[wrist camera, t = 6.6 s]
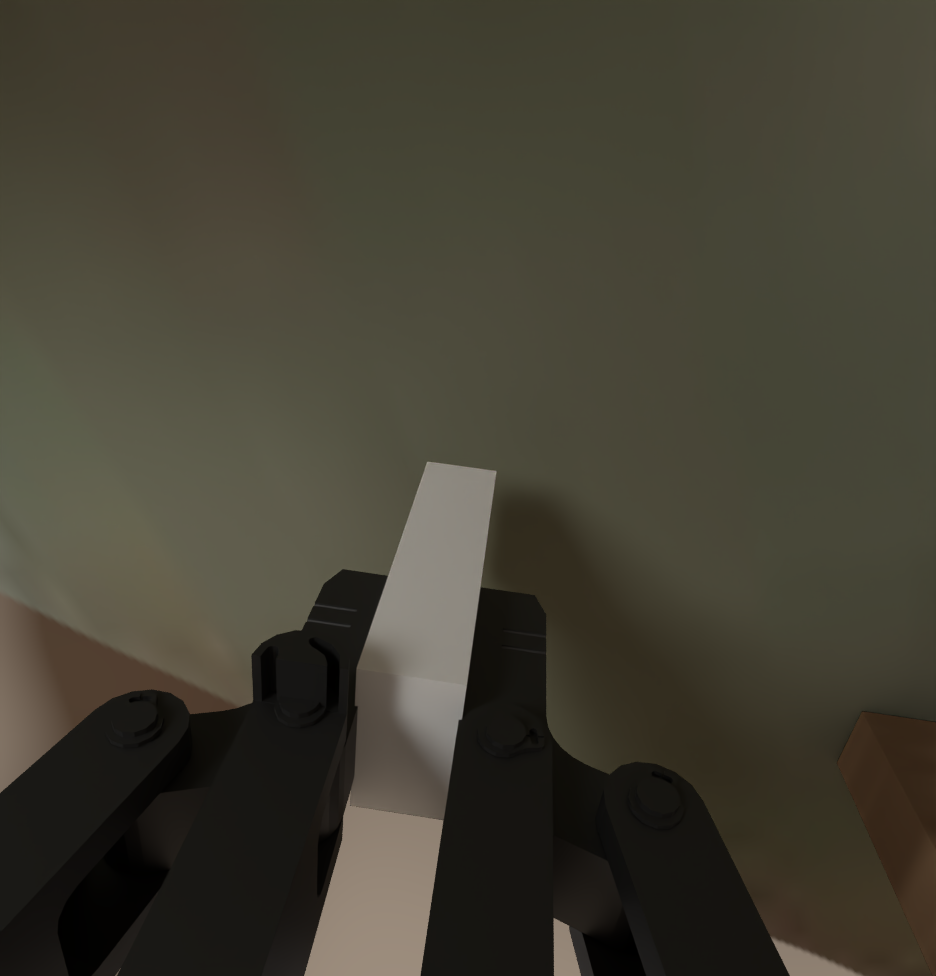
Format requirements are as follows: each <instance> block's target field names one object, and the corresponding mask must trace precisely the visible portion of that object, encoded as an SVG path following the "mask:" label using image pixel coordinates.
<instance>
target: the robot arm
mask: <svg viewBox="0 0 936 976" xmlns="http://www.w3.org/2000/svg"><path fill="white" fill-rule="evenodd" d="M495 478H496V471H492V470H485V469H478V468H471V467H464V466H457V465H449V464H442V463H435V462H428V461H427V464H426V467H425V470H424V473H423V476H422V479H421V482H420V484H419V487H418V490H417V493H416V496H415V499H414V502H413V505H412V508H411V511H410V514H409V517H408V520H407V522H406V525H405V528H404V531H403V534H402V537H401V540H400V543H399V546H398V549H397V552H396V555H395V558H394V560H393V563H392V566H391V569H390V572H389V575H388V576H385V575H379V574H372V573H365V572H358V571H351V570H344V569H343V570H341V571H340V572H339V573H337V574H336V575H335V576H334V577H332V578H331V579H330V580H328V581H327V582H326V583H325V584H324V585H323V587H322V589H321V591H320V593H319V595H318V598H317V600H316V602H315V606H313V608H312V610H311V612H310V614H309V617H308V620H307V622H306V623H305V625H304V627H303V629H302V631H297V630H295V631H291V632H287V633H282V634H278V635H276V636H274V637H272V638H270V639H268V640H267V641H265V642H263V643H261V645H260V646H259V647H258V648H257V649H256V650H255V651H254V653H253V654H252V678H253V702H252V703H250V704H248V705H245V706H242V707H239V708H236V709H231V710H225V711H219V712H209V713H199V714H190V713H189V712H188V710H187V707H186V706H185V704H184V702H183V701H182V700H181V699H179V698H177V697H176V696H174V695H173V694H171V693H168V692H162V691H157V690H145V691H134V692H130V693H127V694H124V695H121V696H118V697H115V698H112V699H111V700H109V701H108V702H106V703H105V704H103V705H102V706H100V707H99V708H97V709H95V710H94V711H93V712H92V713H91V714H90V715H89V716H87V717H86V718H85V719H84V720H83V721H82V722H81V723H79V724H78V725H77V726H76V727H75V728H74V729H73V730H71V731H70V732H69V733H68V734H67V735H66V736H65V737H63V738H62V739H61V740H60V741H59V742H58V743H57V744H56V745H55V746H53V747H52V748H51V749H50V750H49V751H48V752H46V753H45V754H44V755H43V756H42V757H41V758H40V759H39V760H37V761H36V762H35V763H34V764H33V765H32V766H31V767H29V768H28V769H27V770H26V771H25V772H24V773H23V774H21V775H20V776H19V777H18V778H17V779H16V780H15V781H14V782H12V783H11V784H10V785H9V786H8V787H7V788H5V789H4V790H3V791H2V792H1V793H0V976H115V975H116V973H117V972H118V971H119V969H120V968H121V969H120V971H119V973H118V975H117V976H304V974H305V971H306V967H307V963H308V960H309V956H310V953H311V949H312V945H313V942H314V938H315V934H316V931H317V928H318V924H319V920H320V916H321V913H322V910H323V906H324V902H325V898H326V895H327V892H328V888H329V884H330V881H331V877H332V873H333V870H334V866H335V863H336V859H337V855H338V852H339V848H340V845H341V841H342V830H343V815H344V811H345V808H346V804H347V801H348V797H349V794H350V790H351V798H350V806H356V807H363V808H369V809H375V810H382V811H388V812H394V813H401V814H407V815H413V816H420V817H427V818H433V819H439V820H444V821H443V829H442V835H441V841H440V848H439V855H438V862H437V868H436V875H435V882H434V889H433V895H432V902H431V910H430V916H429V922H428V929H427V936H426V943H425V950H424V956H423V963H422V970H421V976H554V942H553V941H554V938H553V937H554V936H553V935H554V933H553V918H555V919H557V920H560V921H561V922H563V923H565V924H567V925H569V929H570V934H571V938H572V942H573V946H574V949H575V953H576V957H577V961H578V965H579V969H580V973H581V976H790V975H789V973H788V971H787V969H786V967H785V965H784V963H783V961H782V959H781V957H780V956H779V953H778V951H777V949H776V947H775V945H774V943H773V941H772V939H771V937H770V935H769V933H768V931H767V929H766V927H765V925H764V923H763V921H762V919H761V917H760V915H759V913H758V911H757V909H756V907H755V905H754V903H753V901H752V899H751V897H750V895H749V893H748V891H747V889H746V887H745V885H744V883H743V880H742V878H741V876H740V874H739V872H738V870H737V868H736V866H735V864H734V862H733V860H732V858H731V856H730V854H729V852H728V850H727V848H726V846H725V844H724V842H723V840H722V838H721V836H720V834H719V832H718V830H717V828H716V826H715V824H714V822H713V820H712V818H711V816H710V814H709V812H708V810H707V808H706V806H705V804H704V802H703V800H702V799H701V797H700V796H699V795H698V793H697V792H696V790H695V789H694V788H693V786H692V785H691V784H690V783H688V782H687V781H686V780H684V779H683V778H682V777H681V776H679V775H678V774H677V773H676V772H673V771H671V770H669V769H666V768H664V767H662V766H659V765H657V764H650V763H642V762H635V763H630V764H626V765H622V766H620V767H619V768H617V769H616V770H615V771H613V772H612V773H611V774H610V775H609V774H606V773H604V772H602V771H600V770H597V769H595V768H593V767H590V766H588V765H586V764H584V763H582V762H580V761H579V760H577V759H575V758H573V757H572V756H571V755H569V754H568V753H567V752H566V751H564V750H563V749H562V748H561V747H560V746H559V744H558V743H557V742H556V741H555V739H554V738H553V736H552V734H551V732H550V730H549V728H548V724H547V718H546V613H545V612H544V610H543V608H542V607H541V605H540V603H539V602H538V600H537V598H536V597H535V595H529V594H522V593H516V592H509V591H502V590H495V589H488V588H481V587H480V586H481V579H482V572H483V565H484V558H485V550H486V543H487V536H488V529H489V522H490V514H491V507H492V500H493V493H494V486H495Z"/></svg>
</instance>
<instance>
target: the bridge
mask: <svg viewBox="0 0 936 976" xmlns="http://www.w3.org/2000/svg"><path fill="white" fill-rule="evenodd" d="M837 764H838V766H839V769H840V771H841V773H842V775H843V778H844V780H845V782H846V784H847V787H848V789H849V791H850V793H851V795H852V798H853V800H854V802H855V804H856V807H857V809H858V811H859V813H860V815H861V818H862V820H863V822H864V824H865V827H866V829H867V831H868V833H869V836H870V838H871V840H872V842H873V844H874V847H875V849H876V851H877V853H878V856H879V858H880V860H881V862H882V864H883V867H884V869H885V871H886V873H887V876H888V878H889V880H890V882H891V885H892V887H893V889H894V891H895V893H896V896H897V898H898V900H899V902H900V905H901V907H902V909H903V911H904V913H905V916H906V918H907V920H908V922H909V925H910V927H911V929H912V931H913V934H914V936H915V938H916V940H917V942H918V945H919V947H920V949H921V951H922V954H923V956H924V958H925V960H926V962H927V965H928V967H929V969H930V971H931V974H932V976H936V722H931V721H924V720H917V719H910V718H904V717H897V716H890V715H884V714H877V713H870V712H863V711H862V713H861V715H860V717H859V719H858V721H857V723H856V725H855V727H854V729H853V731H852V733H851V735H850V737H849V739H848V741H847V743H846V745H845V747H844V749H843V752H842V754H841V756H840V758H839V760H838V762H837Z"/></svg>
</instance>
